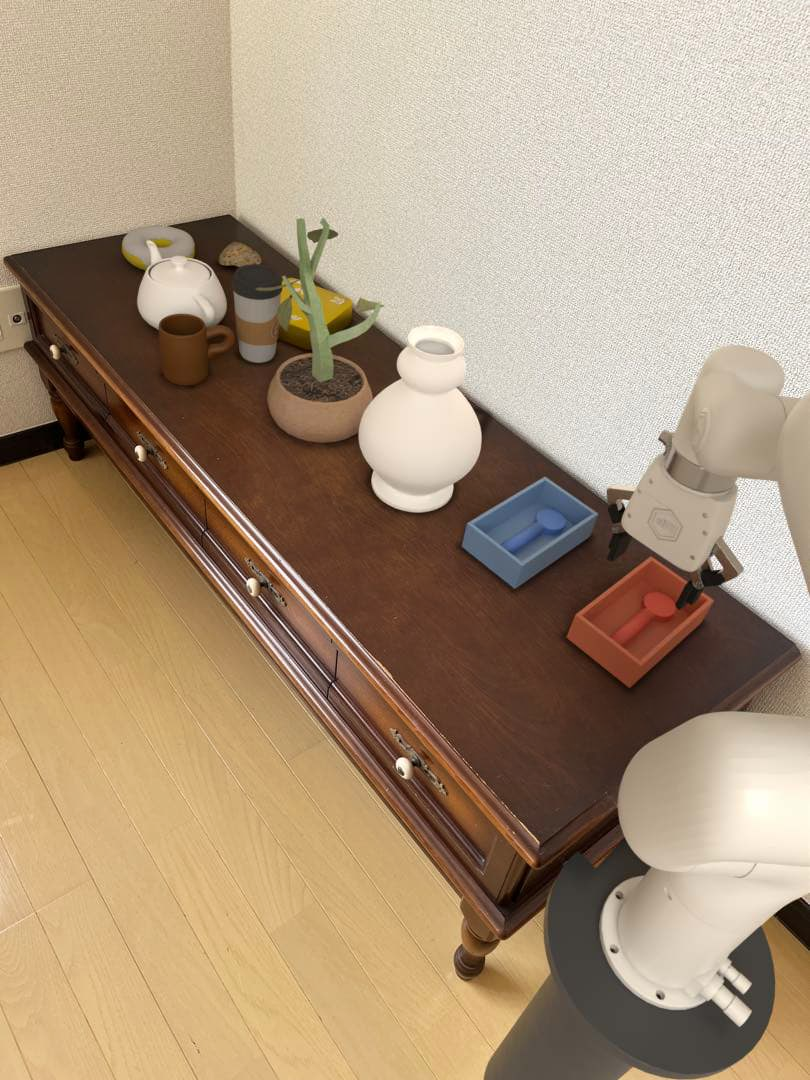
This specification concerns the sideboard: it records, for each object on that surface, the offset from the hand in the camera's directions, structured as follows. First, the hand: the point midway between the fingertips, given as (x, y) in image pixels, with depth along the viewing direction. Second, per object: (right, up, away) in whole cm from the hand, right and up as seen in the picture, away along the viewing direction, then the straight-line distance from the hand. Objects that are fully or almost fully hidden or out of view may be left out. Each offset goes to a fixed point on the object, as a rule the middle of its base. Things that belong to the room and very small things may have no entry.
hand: (649, 579), depth 96 cm
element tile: (-48, +45, +58) cm, 88 cm away
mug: (-63, +32, +43) cm, 83 cm away
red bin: (+2, -7, +13) cm, 15 cm away
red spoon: (+2, -7, +12) cm, 14 cm away
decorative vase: (-28, +13, +29) cm, 42 cm away
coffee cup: (-55, +38, +49) cm, 83 cm away
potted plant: (-44, +26, +40) cm, 65 cm away
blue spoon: (-11, +5, +22) cm, 25 cm away
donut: (-78, +61, +69) cm, 120 cm away
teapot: (-70, +45, +54) cm, 99 cm away
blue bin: (-11, +4, +23) cm, 26 cm away
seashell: (-62, +61, +72) cm, 113 cm away
